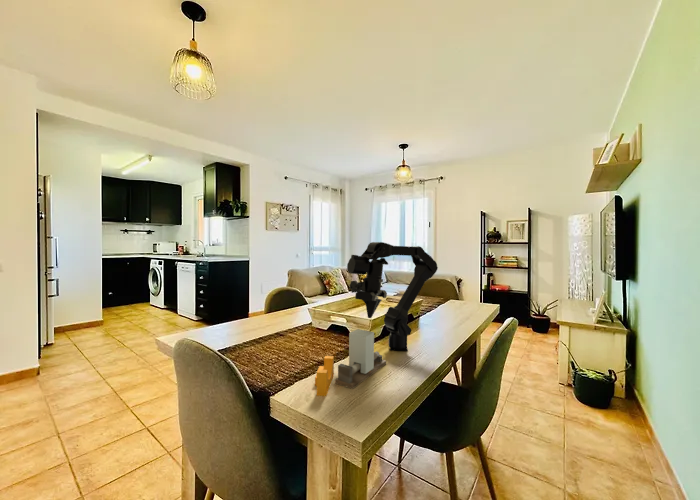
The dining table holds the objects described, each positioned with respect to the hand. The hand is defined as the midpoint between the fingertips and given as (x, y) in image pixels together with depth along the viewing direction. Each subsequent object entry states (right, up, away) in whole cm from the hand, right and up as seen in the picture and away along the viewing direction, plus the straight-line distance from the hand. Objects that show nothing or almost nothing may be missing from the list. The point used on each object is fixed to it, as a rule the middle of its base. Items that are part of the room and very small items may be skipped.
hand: (369, 317), depth 111 cm
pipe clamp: (-15, -14, -24) cm, 32 cm away
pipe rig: (-3, -14, -16) cm, 21 cm away
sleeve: (-4, -12, -17) cm, 21 cm away
